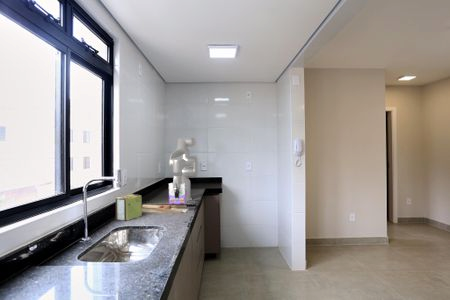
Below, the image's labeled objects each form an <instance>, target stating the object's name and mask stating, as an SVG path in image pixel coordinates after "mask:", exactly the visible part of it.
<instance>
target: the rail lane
mask: <svg viewBox="0 0 450 300" xmlns="http://www.w3.org/2000/svg"><path fill="white" fill-rule="evenodd" d="M161 205H162V204H143V203H142V213H160V214H161V213H163V214H168V213H169V214H182V213H183V212H182V209H171V208H186V209H188V208H187V205H186V204H169V205H170V209H157V208H158V207H159V206H161Z"/></svg>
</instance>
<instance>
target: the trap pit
mask: <svg viewBox="0 0 450 300" xmlns="http://www.w3.org/2000/svg"><path fill="white" fill-rule="evenodd" d="M160 205H161V206H159V207H158V208H156V209H171V208H170V205H171V204H160Z"/></svg>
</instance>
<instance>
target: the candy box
mask: <svg viewBox="0 0 450 300" xmlns="http://www.w3.org/2000/svg"><path fill="white" fill-rule="evenodd" d="M176 189H178V188H176ZM178 193H179V198H175V191H174V189H173V182H170V183H168V205H186V204H187V203H188V201H187V183H180V186H179V189H178Z"/></svg>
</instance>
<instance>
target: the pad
mask: <svg viewBox="0 0 450 300" xmlns="http://www.w3.org/2000/svg"><path fill="white" fill-rule="evenodd" d="M170 209H182V213H184V214H185V213H186V212H188V211H189V208H170Z"/></svg>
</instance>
